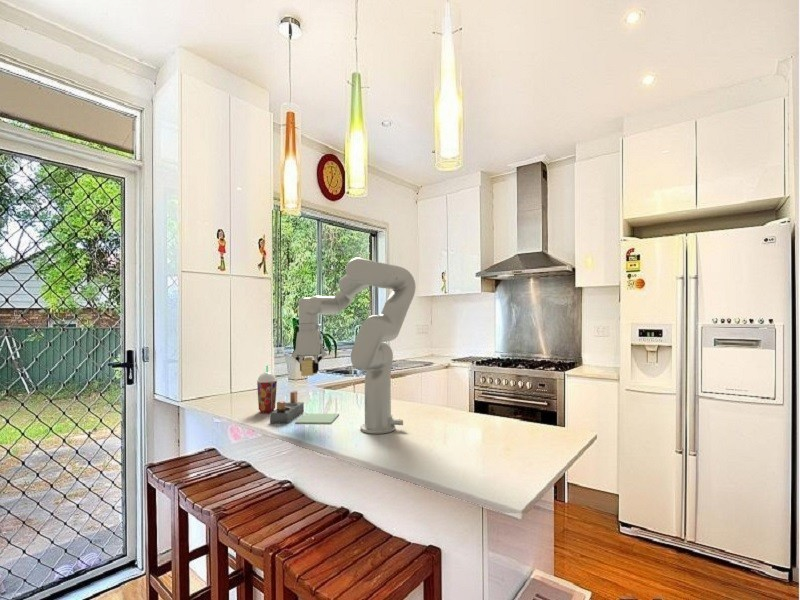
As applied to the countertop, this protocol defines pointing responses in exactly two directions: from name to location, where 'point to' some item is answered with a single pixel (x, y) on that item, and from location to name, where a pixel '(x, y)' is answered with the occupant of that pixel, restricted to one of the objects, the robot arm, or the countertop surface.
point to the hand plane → (287, 410)
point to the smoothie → (266, 392)
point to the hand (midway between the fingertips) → (309, 372)
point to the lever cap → (307, 367)
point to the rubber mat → (317, 419)
